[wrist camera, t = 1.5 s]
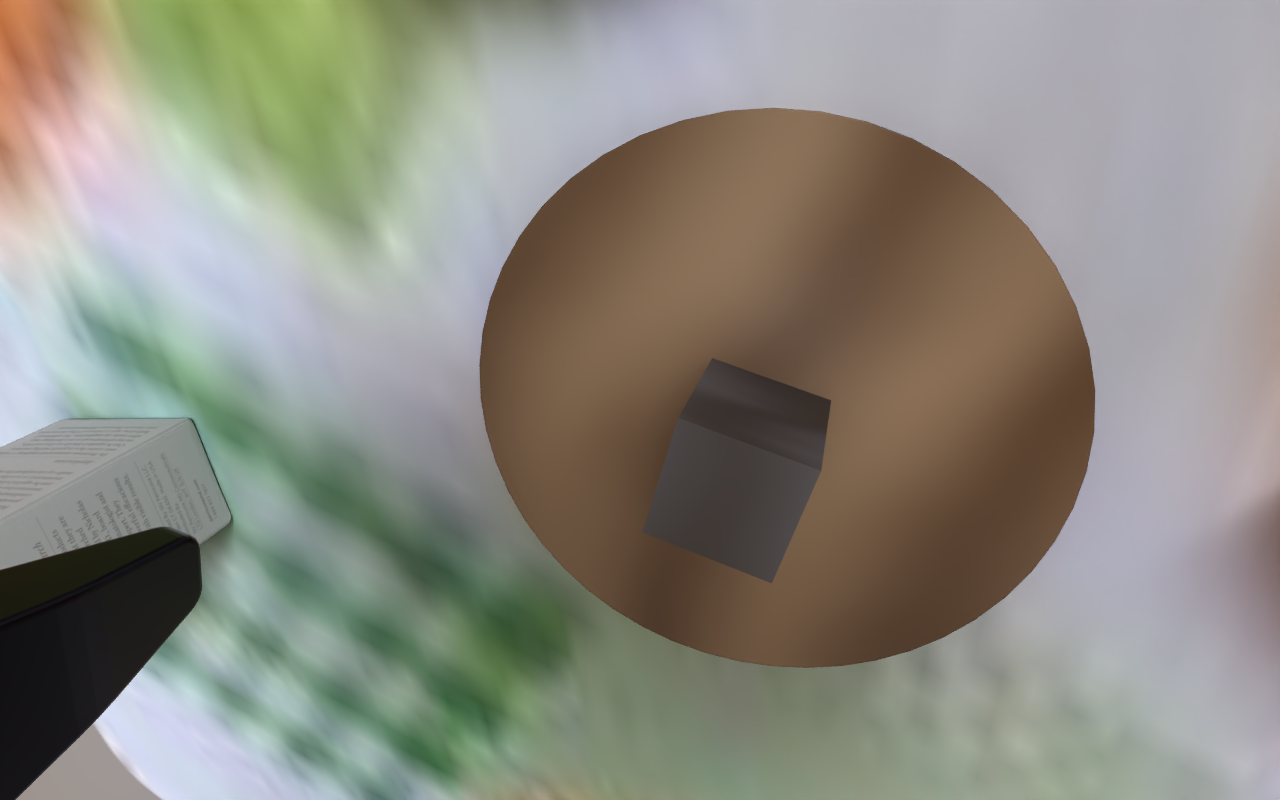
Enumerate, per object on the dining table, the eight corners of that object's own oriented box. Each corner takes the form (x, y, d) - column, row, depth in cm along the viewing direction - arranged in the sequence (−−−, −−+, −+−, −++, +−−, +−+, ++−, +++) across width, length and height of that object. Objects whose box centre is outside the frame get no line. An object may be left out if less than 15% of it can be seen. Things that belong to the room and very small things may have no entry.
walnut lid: (1236, 229, 15) (1359, 286, 11) (920, 722, 22) (928, 861, 18) (545, 26, 17) (450, 14, 13) (460, 533, 24) (382, 621, 20)
